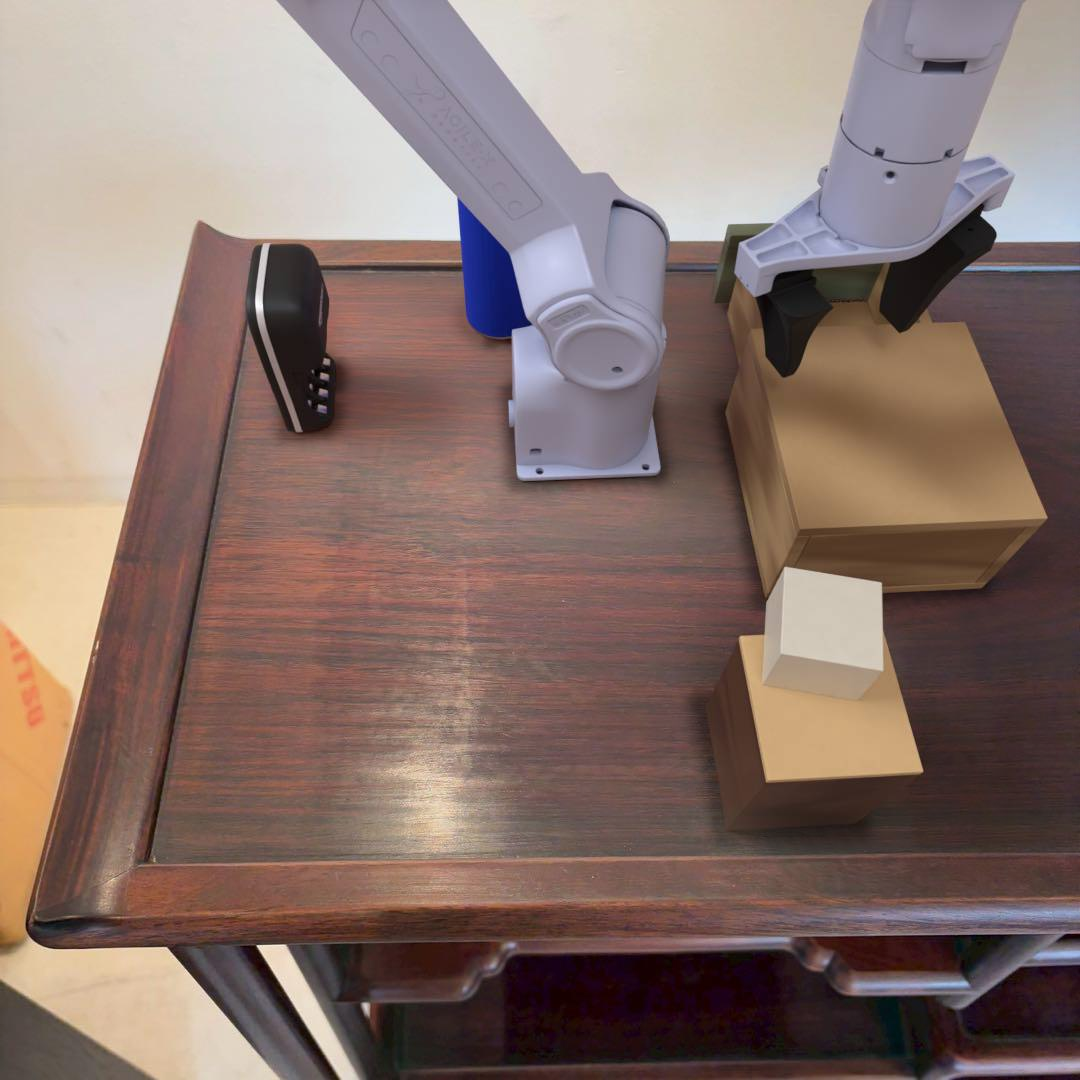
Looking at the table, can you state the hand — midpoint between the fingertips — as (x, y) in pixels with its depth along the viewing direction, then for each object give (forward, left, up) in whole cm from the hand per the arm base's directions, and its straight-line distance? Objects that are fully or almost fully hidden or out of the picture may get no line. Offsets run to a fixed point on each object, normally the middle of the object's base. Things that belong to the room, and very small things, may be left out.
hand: (837, 342), depth 51 cm
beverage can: (-19, +13, -11) cm, 26 cm away
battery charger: (-32, +6, -11) cm, 34 cm away
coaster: (-5, -21, -2) cm, 22 cm away
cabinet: (+3, -4, -11) cm, 11 cm away
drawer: (+3, +8, -10) cm, 13 cm away
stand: (-5, -21, -11) cm, 24 cm away
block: (-5, -19, -1) cm, 19 cm away
